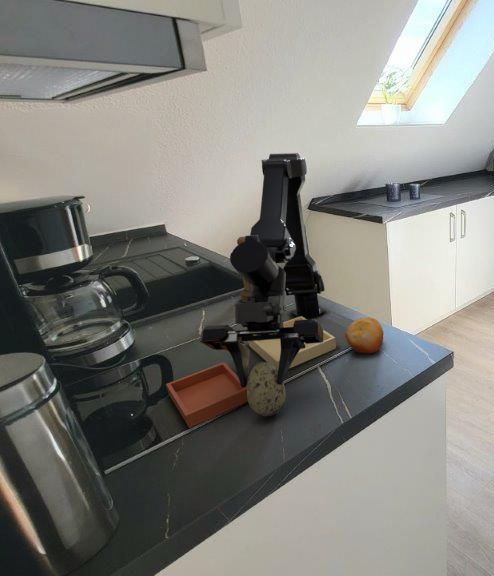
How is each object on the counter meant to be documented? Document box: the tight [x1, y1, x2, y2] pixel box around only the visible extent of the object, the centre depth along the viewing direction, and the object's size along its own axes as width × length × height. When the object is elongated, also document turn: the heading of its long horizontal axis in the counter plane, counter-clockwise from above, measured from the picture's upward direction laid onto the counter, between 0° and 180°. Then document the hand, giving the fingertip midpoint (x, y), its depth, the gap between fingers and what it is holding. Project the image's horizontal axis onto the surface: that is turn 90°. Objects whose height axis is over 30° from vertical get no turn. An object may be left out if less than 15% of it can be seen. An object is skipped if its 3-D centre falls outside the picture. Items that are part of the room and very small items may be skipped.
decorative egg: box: [246, 361, 287, 417], centre depth 67 cm, size 6×6×10 cm
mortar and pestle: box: [236, 236, 251, 303], centre depth 111 cm, size 7×6×18 cm
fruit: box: [344, 316, 384, 354], centre depth 88 cm, size 8×8×8 cm
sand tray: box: [247, 316, 337, 372], centre depth 89 cm, size 15×13×3 cm
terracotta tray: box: [165, 361, 248, 429], centre depth 73 cm, size 12×10×2 cm
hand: (261, 385), depth 66 cm, fingers open, 5 cm apart
